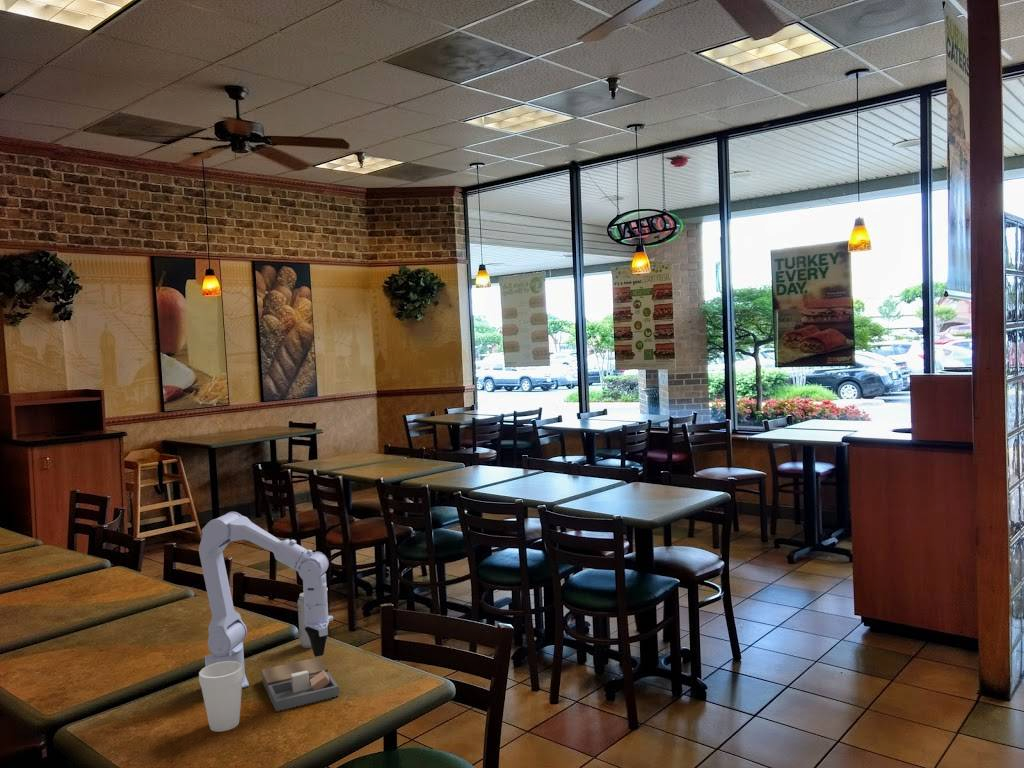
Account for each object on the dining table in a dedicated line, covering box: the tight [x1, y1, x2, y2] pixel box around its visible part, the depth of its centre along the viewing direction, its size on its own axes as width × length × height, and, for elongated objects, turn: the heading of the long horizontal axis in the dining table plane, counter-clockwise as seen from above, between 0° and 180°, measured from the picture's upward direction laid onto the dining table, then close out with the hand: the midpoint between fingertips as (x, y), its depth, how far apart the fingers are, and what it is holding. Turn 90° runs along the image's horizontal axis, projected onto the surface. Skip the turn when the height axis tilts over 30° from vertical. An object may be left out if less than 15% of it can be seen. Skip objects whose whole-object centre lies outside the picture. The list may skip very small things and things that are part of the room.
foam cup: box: [198, 661, 244, 733], centre depth 176 cm, size 10×9×13 cm
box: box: [267, 671, 340, 712], centre depth 190 cm, size 15×10×2 cm
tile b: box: [310, 670, 330, 690], centre depth 192 cm, size 4×4×2 cm
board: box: [261, 656, 329, 696], centre depth 199 cm, size 15×10×3 cm, turn 117°
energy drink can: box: [297, 591, 312, 649], centre depth 223 cm, size 6×6×15 cm
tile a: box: [291, 671, 310, 693], centre depth 192 cm, size 4×4×2 cm
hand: (318, 655), depth 194 cm, fingers closed
